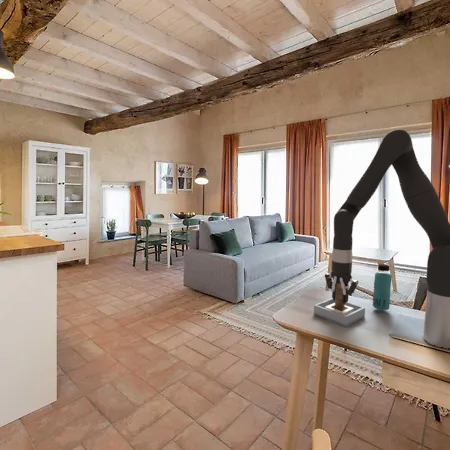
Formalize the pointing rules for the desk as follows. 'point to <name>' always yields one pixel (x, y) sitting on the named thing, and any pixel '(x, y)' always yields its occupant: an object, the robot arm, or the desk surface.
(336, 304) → the peg
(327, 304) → the box
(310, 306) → the desk surface
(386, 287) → the beverage bottle
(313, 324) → the desk surface
